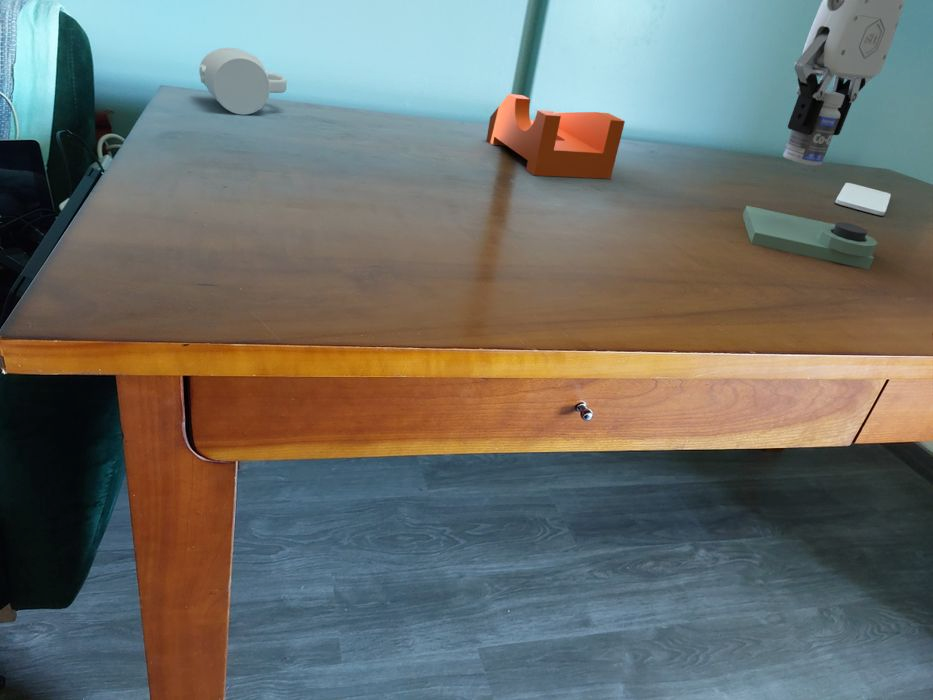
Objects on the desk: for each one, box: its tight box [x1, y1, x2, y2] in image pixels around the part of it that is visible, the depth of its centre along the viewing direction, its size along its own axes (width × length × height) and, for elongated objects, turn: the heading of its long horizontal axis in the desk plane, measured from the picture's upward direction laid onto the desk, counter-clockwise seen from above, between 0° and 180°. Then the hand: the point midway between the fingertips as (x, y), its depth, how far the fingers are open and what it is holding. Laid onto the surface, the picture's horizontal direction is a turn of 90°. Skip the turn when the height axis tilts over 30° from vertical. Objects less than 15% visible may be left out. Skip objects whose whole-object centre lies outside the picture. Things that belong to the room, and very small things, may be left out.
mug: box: [198, 47, 287, 116], centre depth 110 cm, size 12×9×8 cm
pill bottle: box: [782, 89, 845, 167], centre depth 89 cm, size 5×5×8 cm
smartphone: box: [835, 182, 892, 216], centre depth 118 cm, size 7×1×15 cm
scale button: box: [832, 221, 868, 242], centre depth 89 cm, size 4×4×1 cm
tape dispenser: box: [486, 93, 626, 180], centre depth 110 cm, size 18×13×8 cm
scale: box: [742, 205, 878, 270], centre depth 93 cm, size 14×13×3 cm
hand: (813, 130), depth 90 cm, fingers closed on pill bottle, 4 cm apart
